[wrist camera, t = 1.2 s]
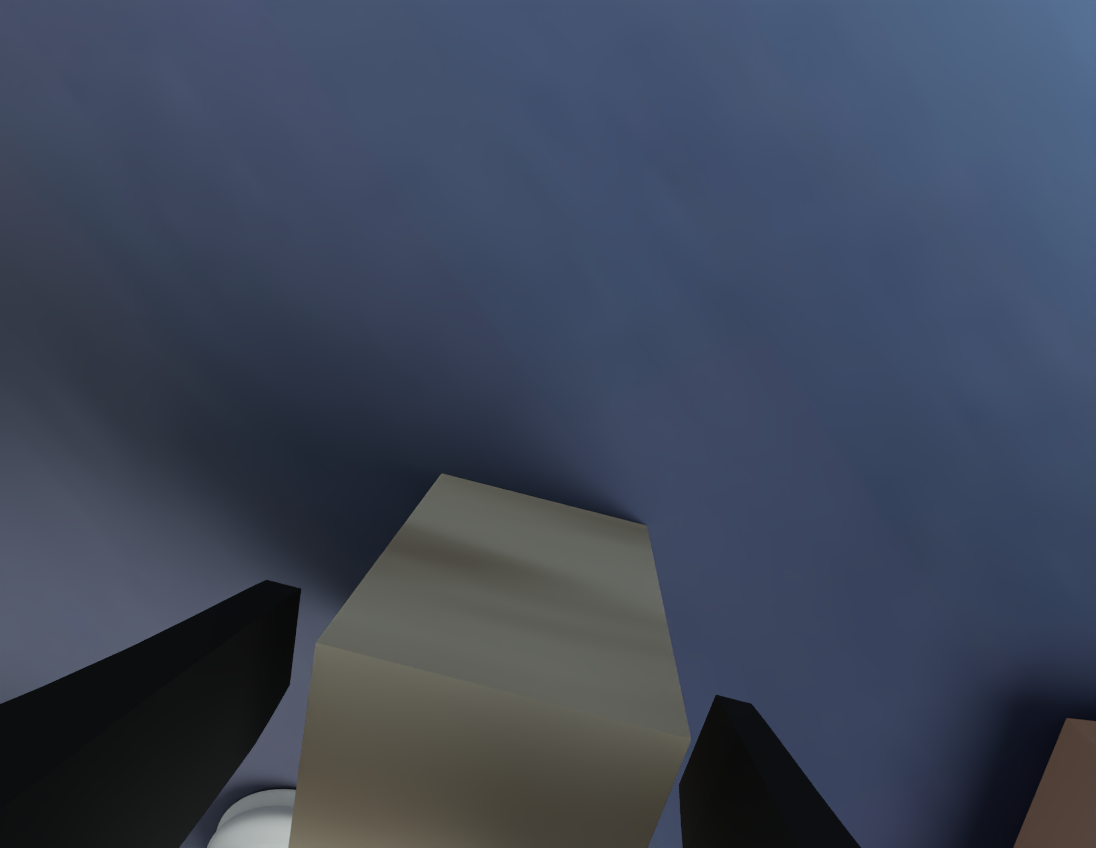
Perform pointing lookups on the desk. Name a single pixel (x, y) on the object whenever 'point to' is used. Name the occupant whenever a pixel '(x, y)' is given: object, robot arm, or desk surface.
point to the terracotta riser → (1065, 793)
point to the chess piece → (257, 821)
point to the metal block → (494, 685)
